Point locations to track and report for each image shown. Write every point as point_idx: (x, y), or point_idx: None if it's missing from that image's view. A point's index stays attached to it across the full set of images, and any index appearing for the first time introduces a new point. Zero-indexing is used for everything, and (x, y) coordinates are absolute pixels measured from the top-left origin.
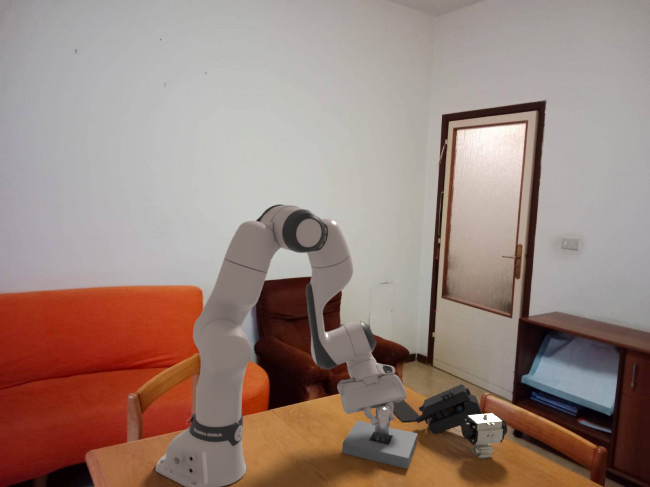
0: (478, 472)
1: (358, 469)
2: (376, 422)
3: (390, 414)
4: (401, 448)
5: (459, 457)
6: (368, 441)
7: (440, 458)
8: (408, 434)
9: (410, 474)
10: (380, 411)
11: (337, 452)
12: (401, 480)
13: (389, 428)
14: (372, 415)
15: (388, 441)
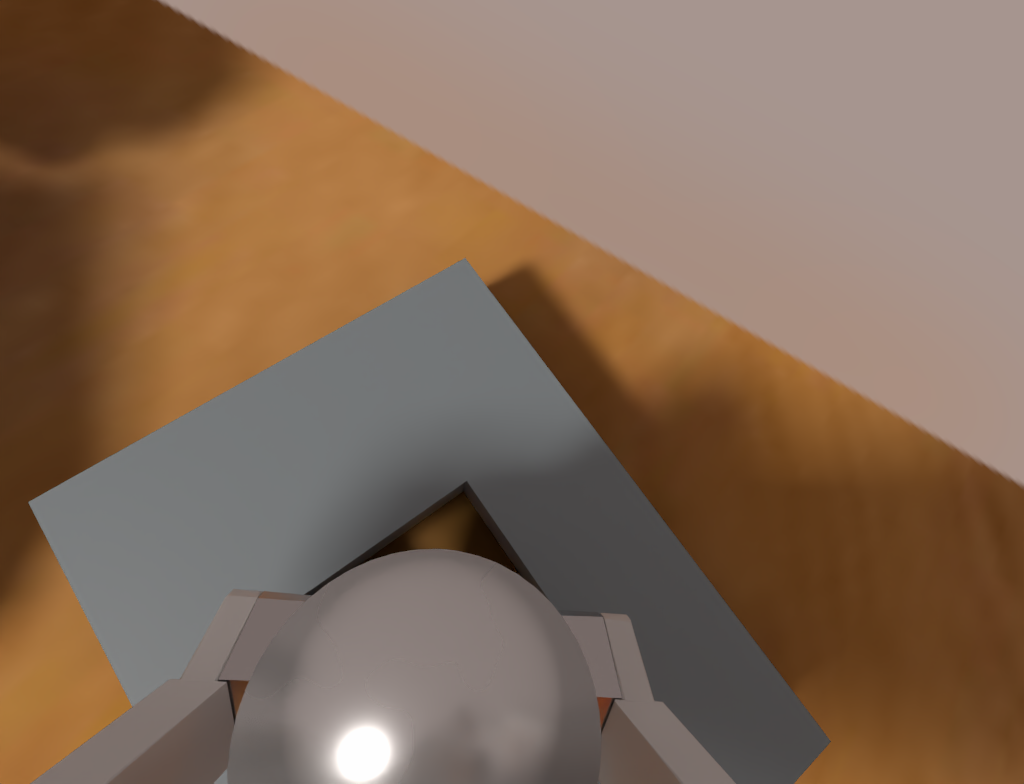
0: (101, 57)
1: (753, 462)
2: (597, 612)
3: None
4: (409, 379)
5: (19, 204)
6: None
7: (152, 266)
8: (130, 538)
9: (488, 255)
10: (572, 638)
11: None
12: (578, 245)
13: None
14: (661, 725)
15: None
